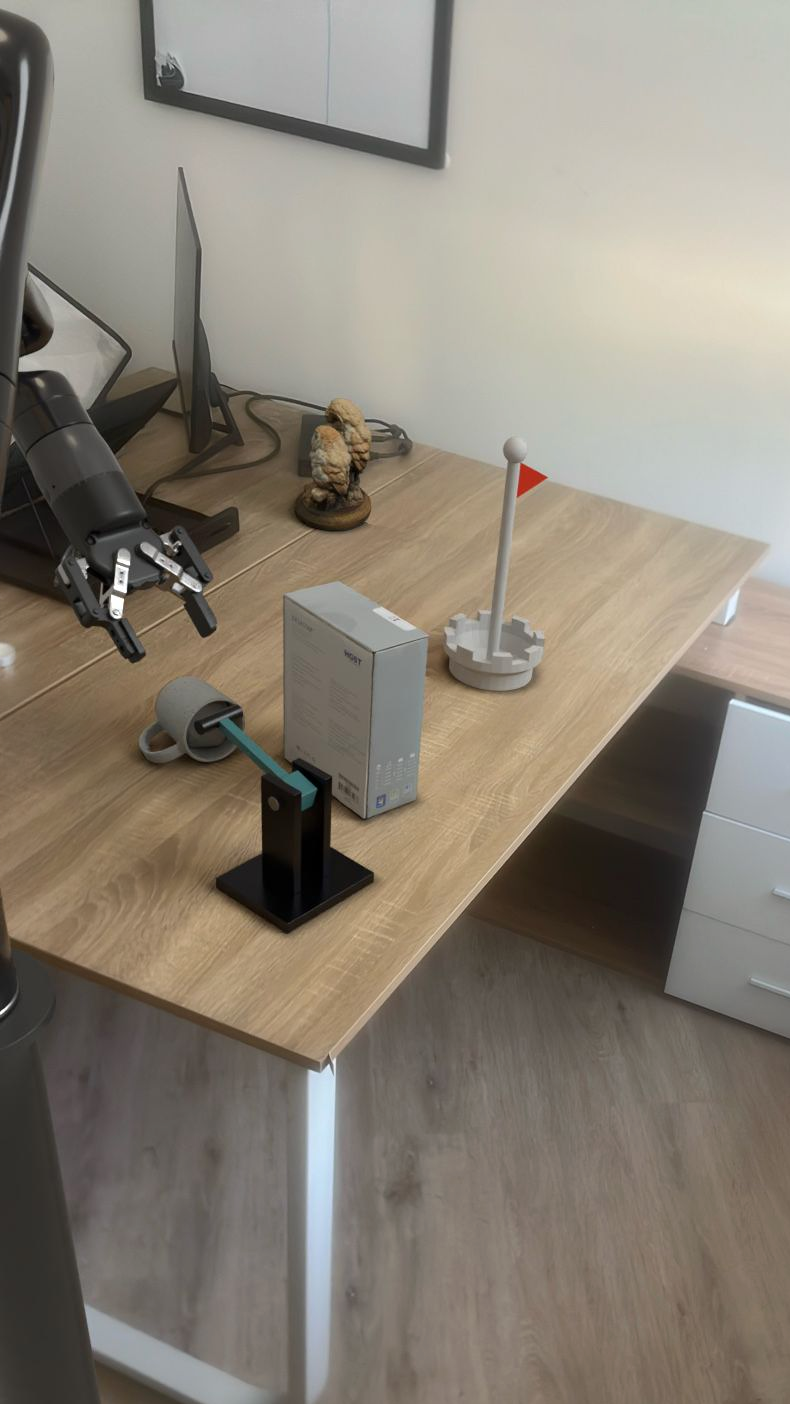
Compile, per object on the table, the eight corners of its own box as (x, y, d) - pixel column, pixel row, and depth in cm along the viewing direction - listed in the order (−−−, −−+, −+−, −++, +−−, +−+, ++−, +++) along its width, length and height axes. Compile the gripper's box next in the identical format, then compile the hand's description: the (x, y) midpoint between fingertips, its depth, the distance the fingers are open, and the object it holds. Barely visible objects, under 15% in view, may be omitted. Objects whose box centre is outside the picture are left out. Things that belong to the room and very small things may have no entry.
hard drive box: (419, 801, 142) (432, 636, 129) (364, 822, 137) (372, 653, 124) (334, 739, 149) (339, 577, 136) (279, 757, 145) (279, 592, 132)
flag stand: (473, 701, 160) (499, 461, 141) (423, 655, 168) (440, 422, 149) (558, 684, 167) (594, 453, 147) (506, 641, 174) (533, 415, 155)
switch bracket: (215, 887, 125) (210, 777, 117) (303, 839, 133) (304, 733, 125) (287, 933, 121) (287, 823, 113) (373, 882, 129) (379, 774, 121)
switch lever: (191, 732, 122) (195, 714, 120) (231, 715, 125) (235, 697, 123) (284, 820, 119) (290, 802, 117) (322, 800, 122) (328, 783, 121)
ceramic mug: (209, 720, 149) (206, 660, 144) (247, 752, 144) (244, 692, 139) (125, 745, 143) (119, 684, 138) (162, 779, 139) (157, 717, 134)
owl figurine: (304, 484, 208) (305, 374, 197) (376, 493, 209) (381, 385, 198) (287, 526, 194) (287, 411, 183) (364, 536, 195) (369, 422, 184)
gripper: (35, 485, 111) (131, 653, 114) (164, 454, 121) (250, 610, 123) (6, 524, 117) (98, 684, 119) (132, 491, 126) (215, 640, 129)
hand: (175, 646), depth 121 cm, fingers open, 8 cm apart
